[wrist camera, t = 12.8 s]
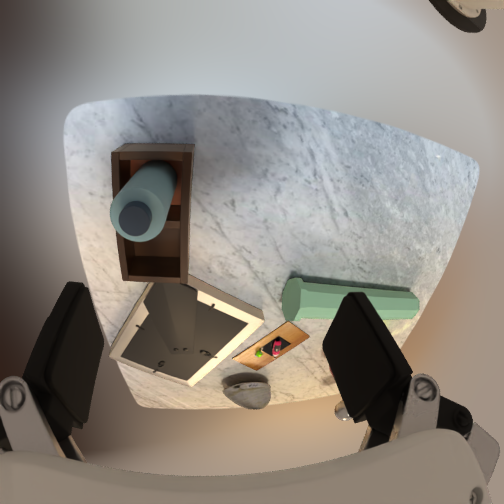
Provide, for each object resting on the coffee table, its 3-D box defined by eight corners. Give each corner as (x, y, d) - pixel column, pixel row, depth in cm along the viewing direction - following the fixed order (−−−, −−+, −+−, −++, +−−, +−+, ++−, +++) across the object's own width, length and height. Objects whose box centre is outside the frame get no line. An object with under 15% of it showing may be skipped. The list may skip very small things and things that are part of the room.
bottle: (136, 159, 25) (103, 192, 16) (178, 159, 26) (163, 192, 17) (136, 199, 27) (109, 247, 19) (176, 200, 28) (164, 249, 19)
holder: (130, 259, 31) (122, 281, 27) (124, 143, 24) (111, 151, 20) (189, 261, 33) (187, 283, 29) (194, 144, 26) (192, 152, 22)
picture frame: (163, 260, 32) (110, 347, 39) (160, 274, 30) (107, 360, 37) (262, 310, 39) (190, 377, 46) (266, 324, 36) (190, 390, 43)
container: (429, 313, 38) (304, 311, 31) (406, 327, 42) (283, 328, 35) (419, 283, 41) (297, 268, 34) (398, 299, 46) (279, 290, 39)
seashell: (283, 384, 52) (288, 404, 47) (252, 399, 54) (256, 419, 49) (247, 365, 46) (251, 388, 42) (213, 383, 48) (215, 405, 43)
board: (232, 358, 44) (233, 365, 43) (288, 320, 41) (290, 327, 40) (256, 369, 47) (257, 376, 46) (309, 336, 44) (312, 342, 43)
